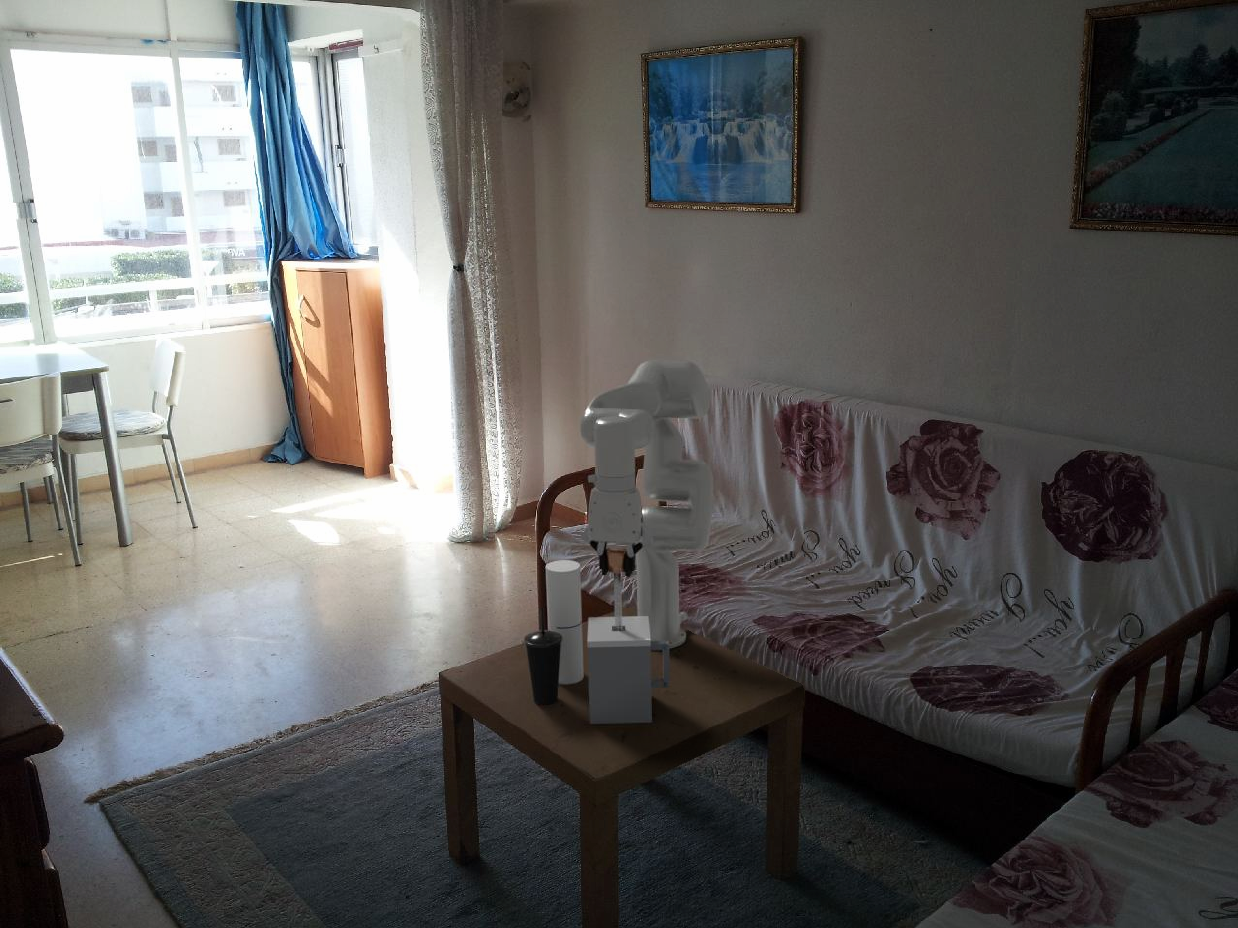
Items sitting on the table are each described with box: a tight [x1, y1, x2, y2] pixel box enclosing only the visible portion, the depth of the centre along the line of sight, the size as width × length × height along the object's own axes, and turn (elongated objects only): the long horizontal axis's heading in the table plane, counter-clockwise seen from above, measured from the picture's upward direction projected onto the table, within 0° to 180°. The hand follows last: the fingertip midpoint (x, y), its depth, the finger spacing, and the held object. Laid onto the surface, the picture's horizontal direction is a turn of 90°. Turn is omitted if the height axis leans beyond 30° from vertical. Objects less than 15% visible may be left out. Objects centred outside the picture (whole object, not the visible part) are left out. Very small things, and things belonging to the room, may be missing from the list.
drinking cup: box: [523, 607, 562, 707], centre depth 215 cm, size 8×8×20 cm
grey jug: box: [586, 615, 671, 725], centre depth 211 cm, size 16×12×17 cm
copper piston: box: [606, 546, 627, 631], centre depth 207 cm, size 9×9×23 cm
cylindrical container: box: [545, 559, 585, 685], centre depth 224 cm, size 7×7×25 cm
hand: (617, 572), depth 206 cm, fingers closed on copper piston, 4 cm apart
